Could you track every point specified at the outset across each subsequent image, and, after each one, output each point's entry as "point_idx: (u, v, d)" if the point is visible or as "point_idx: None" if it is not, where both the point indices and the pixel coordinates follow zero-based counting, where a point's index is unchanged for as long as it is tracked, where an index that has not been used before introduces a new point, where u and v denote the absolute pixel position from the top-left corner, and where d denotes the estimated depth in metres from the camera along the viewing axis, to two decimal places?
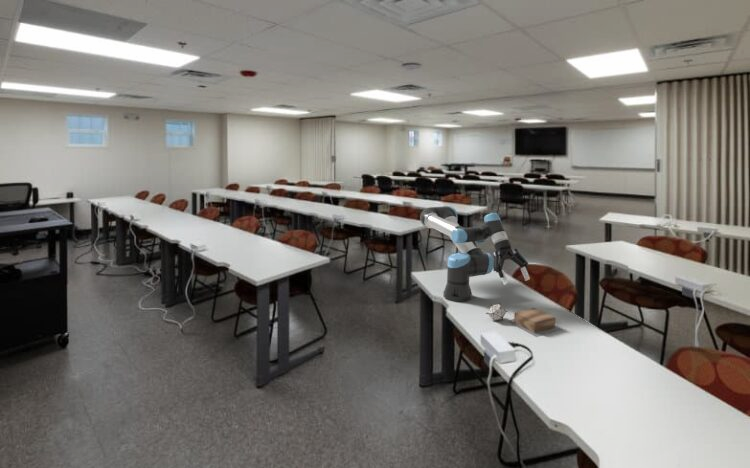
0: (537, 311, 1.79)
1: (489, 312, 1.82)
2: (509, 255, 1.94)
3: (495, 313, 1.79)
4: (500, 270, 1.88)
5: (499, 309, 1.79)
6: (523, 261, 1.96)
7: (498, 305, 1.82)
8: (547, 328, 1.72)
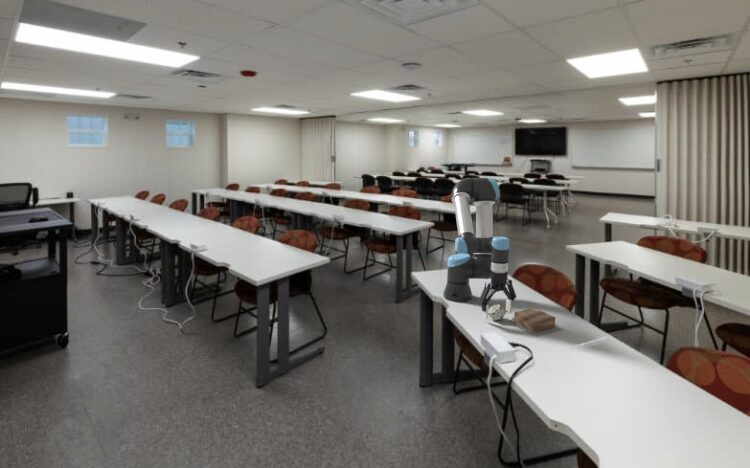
0: (537, 311, 1.79)
1: (489, 312, 1.82)
2: (501, 288, 1.79)
3: (495, 313, 1.79)
4: (485, 305, 1.77)
5: (499, 309, 1.79)
6: (512, 294, 1.83)
7: (498, 305, 1.82)
8: (547, 328, 1.72)
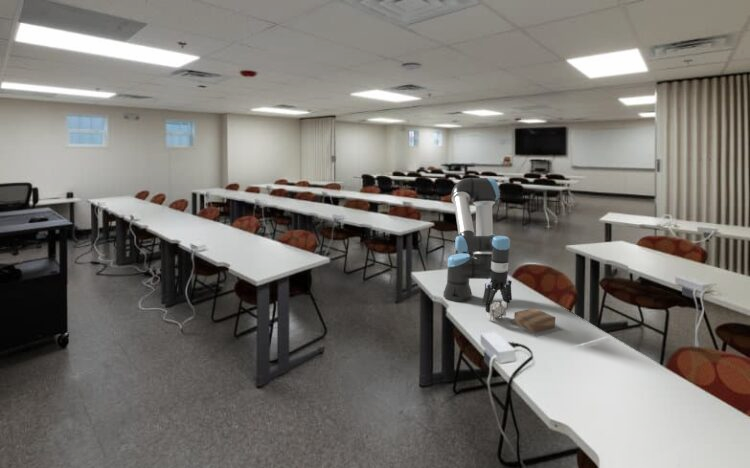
0: (537, 311, 1.79)
1: None
2: (501, 287, 1.79)
3: (495, 310, 1.79)
4: (489, 306, 1.79)
5: (499, 306, 1.80)
6: (508, 295, 1.83)
7: (498, 302, 1.82)
8: (547, 328, 1.72)
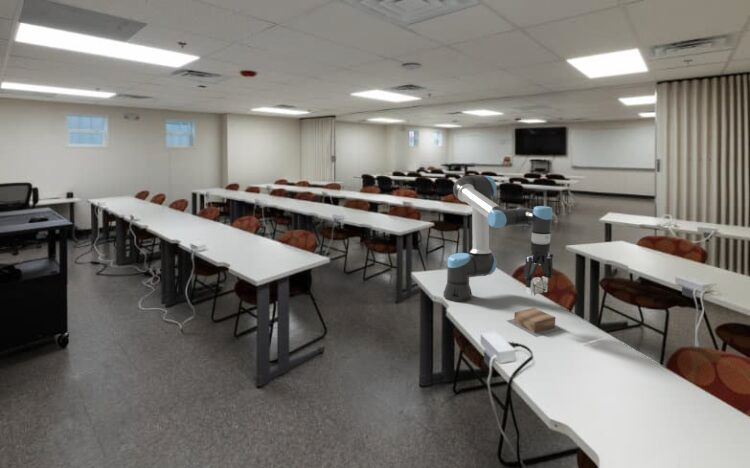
0: (537, 311, 1.79)
1: None
2: (542, 260, 1.70)
3: (536, 285, 1.70)
4: (530, 280, 1.69)
5: (540, 281, 1.70)
6: (549, 270, 1.73)
7: (538, 278, 1.73)
8: (547, 328, 1.72)
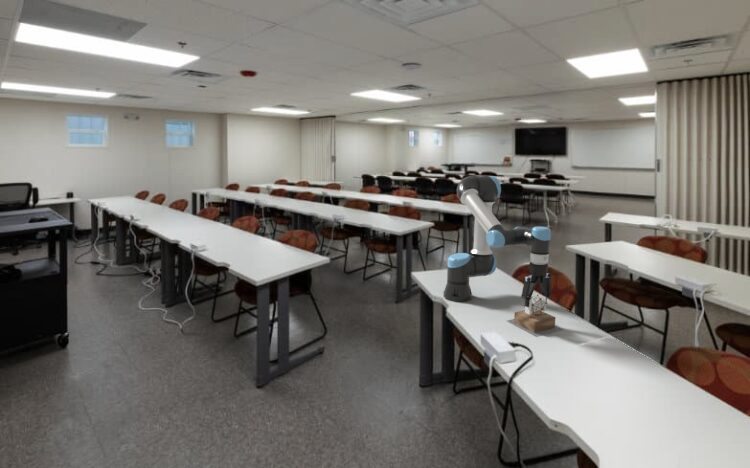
0: None
1: None
2: (540, 280, 1.71)
3: (535, 305, 1.71)
4: (528, 300, 1.71)
5: (539, 301, 1.72)
6: (548, 289, 1.75)
7: (537, 297, 1.74)
8: (547, 328, 1.72)
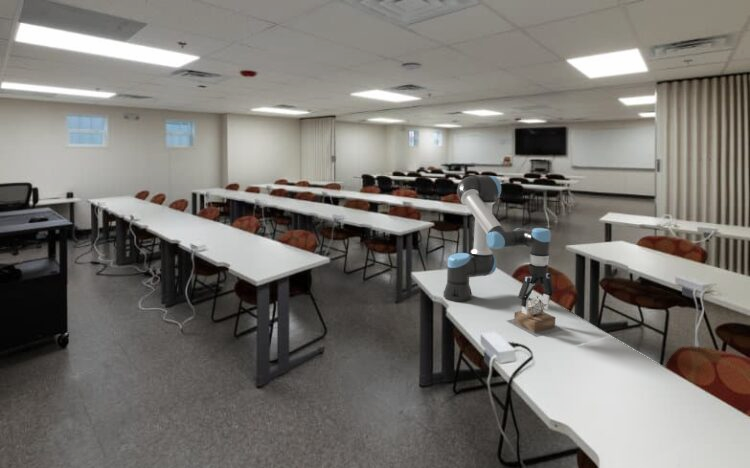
0: None
1: None
2: (540, 281, 1.72)
3: (535, 307, 1.71)
4: (525, 300, 1.70)
5: (539, 303, 1.72)
6: (550, 288, 1.76)
7: (536, 299, 1.74)
8: (547, 328, 1.72)
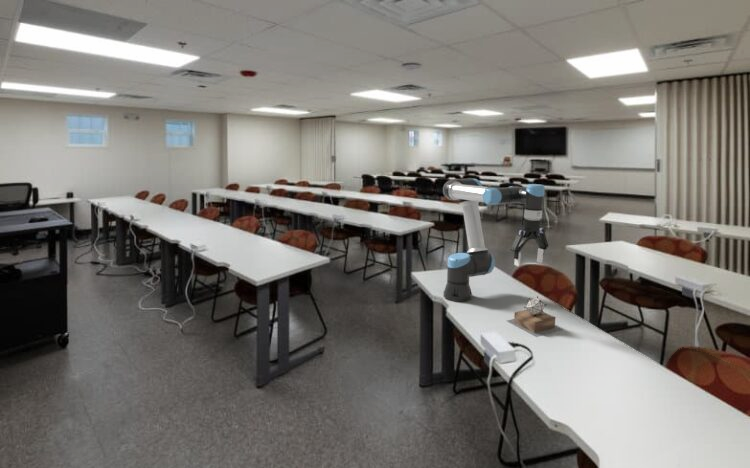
0: None
1: (527, 306, 1.74)
2: (534, 236, 1.78)
3: (535, 307, 1.71)
4: (517, 252, 1.76)
5: (539, 303, 1.72)
6: (544, 243, 1.82)
7: (536, 299, 1.74)
8: (547, 328, 1.72)
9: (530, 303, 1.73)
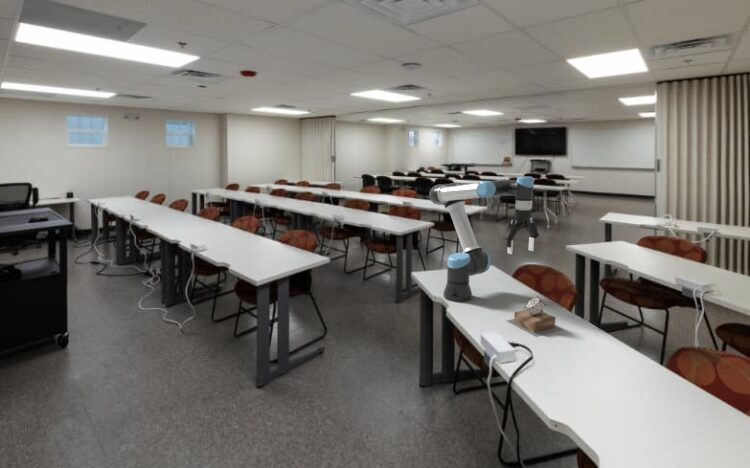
0: None
1: (527, 306, 1.74)
2: (525, 225, 1.89)
3: (535, 307, 1.71)
4: (510, 240, 1.87)
5: (539, 303, 1.72)
6: (535, 232, 1.93)
7: (536, 299, 1.74)
8: (547, 328, 1.72)
9: (530, 303, 1.73)
